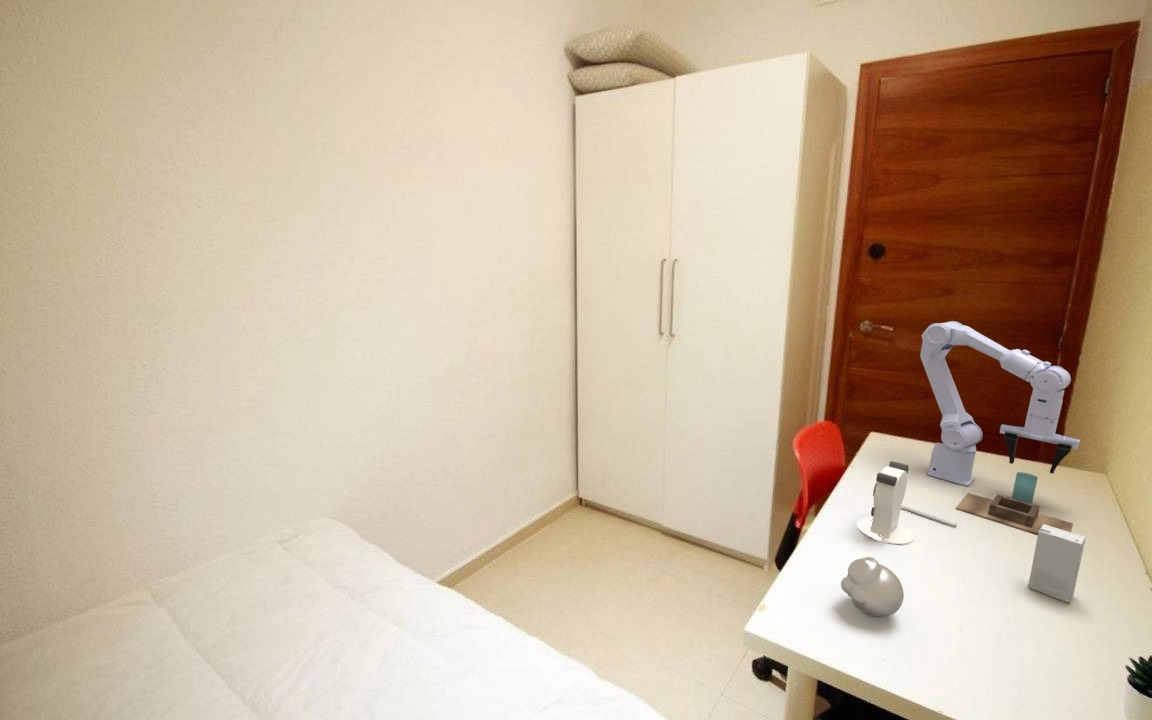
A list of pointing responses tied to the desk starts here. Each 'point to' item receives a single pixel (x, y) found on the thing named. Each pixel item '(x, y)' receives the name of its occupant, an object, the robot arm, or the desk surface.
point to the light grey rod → (929, 517)
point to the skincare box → (1056, 562)
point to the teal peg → (1024, 487)
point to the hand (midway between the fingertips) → (1031, 467)
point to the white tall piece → (890, 504)
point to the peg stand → (1010, 513)
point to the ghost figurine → (873, 588)
